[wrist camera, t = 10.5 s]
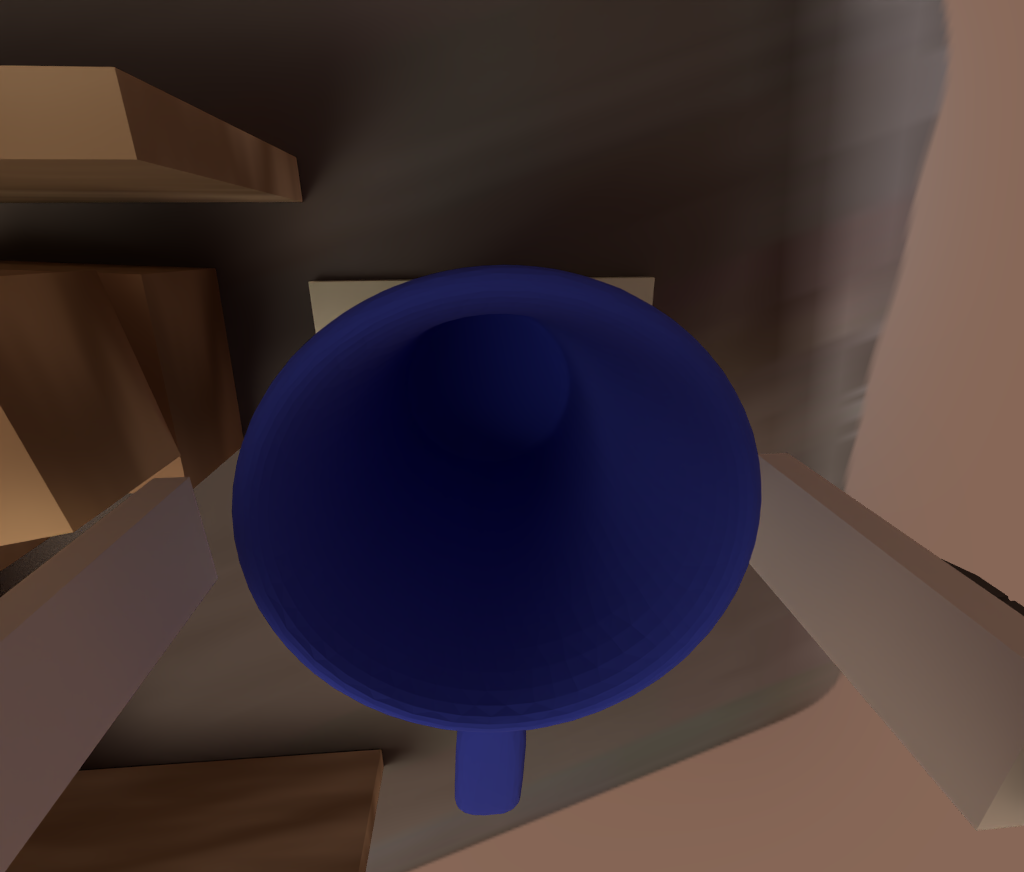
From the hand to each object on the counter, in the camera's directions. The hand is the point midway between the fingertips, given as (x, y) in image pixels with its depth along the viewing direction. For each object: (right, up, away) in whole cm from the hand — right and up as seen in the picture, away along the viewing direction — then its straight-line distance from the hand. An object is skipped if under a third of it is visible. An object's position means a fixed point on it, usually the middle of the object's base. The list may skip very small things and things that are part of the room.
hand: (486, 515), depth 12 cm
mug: (0, +2, +6) cm, 6 cm away
